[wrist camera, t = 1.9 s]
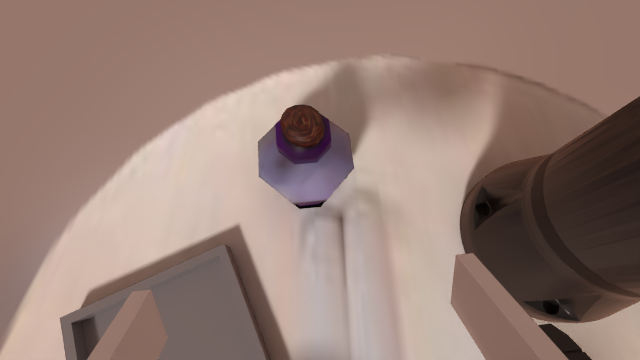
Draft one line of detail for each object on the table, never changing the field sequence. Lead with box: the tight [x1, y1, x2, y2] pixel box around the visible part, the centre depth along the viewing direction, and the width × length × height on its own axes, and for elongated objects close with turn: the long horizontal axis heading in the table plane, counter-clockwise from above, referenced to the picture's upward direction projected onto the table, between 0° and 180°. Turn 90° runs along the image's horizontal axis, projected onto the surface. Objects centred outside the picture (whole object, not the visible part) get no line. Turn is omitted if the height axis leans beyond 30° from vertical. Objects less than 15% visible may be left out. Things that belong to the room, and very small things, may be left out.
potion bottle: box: [258, 105, 354, 209], centre depth 28 cm, size 9×9×12 cm
